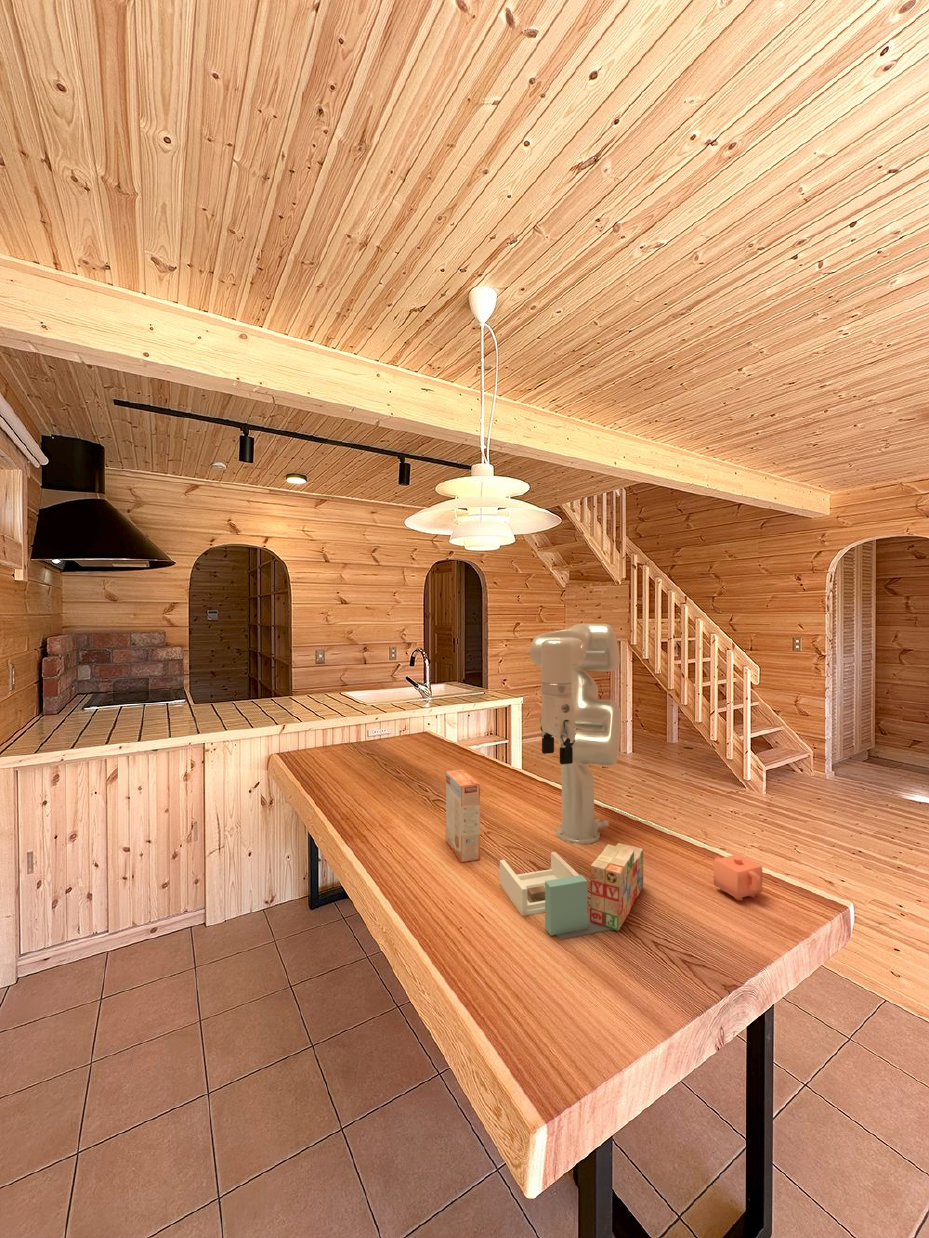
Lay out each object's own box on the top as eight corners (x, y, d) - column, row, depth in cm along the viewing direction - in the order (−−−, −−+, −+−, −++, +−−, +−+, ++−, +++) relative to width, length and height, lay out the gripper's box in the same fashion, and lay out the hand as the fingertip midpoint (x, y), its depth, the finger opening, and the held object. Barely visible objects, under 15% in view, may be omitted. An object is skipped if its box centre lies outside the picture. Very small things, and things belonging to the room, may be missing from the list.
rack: (555, 875, 131) (555, 851, 131) (583, 905, 118) (583, 878, 118) (499, 884, 127) (499, 860, 127) (522, 916, 113) (522, 889, 113)
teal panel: (581, 874, 111) (545, 881, 108) (587, 880, 108) (550, 887, 106) (581, 921, 111) (545, 928, 108) (587, 928, 108) (550, 935, 106)
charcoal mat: (600, 913, 114) (600, 911, 114) (616, 929, 109) (616, 927, 109) (547, 924, 111) (547, 922, 111) (560, 941, 105) (560, 939, 105)
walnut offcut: (543, 896, 120) (543, 885, 120) (548, 902, 117) (547, 891, 117) (527, 899, 118) (527, 888, 118) (531, 905, 116) (531, 893, 116)
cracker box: (481, 860, 139) (481, 782, 139) (460, 864, 137) (459, 785, 137) (465, 838, 152) (464, 768, 152) (445, 841, 151) (444, 770, 150)
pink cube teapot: (727, 876, 130) (727, 843, 130) (770, 901, 119) (770, 865, 119) (703, 882, 127) (703, 848, 127) (745, 908, 116) (745, 871, 116)
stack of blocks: (617, 879, 129) (618, 830, 128) (643, 886, 125) (644, 836, 125) (589, 921, 110) (590, 864, 110) (618, 931, 107) (620, 872, 107)
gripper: (588, 693, 121) (588, 766, 121) (554, 684, 138) (554, 748, 138) (558, 695, 119) (559, 769, 119) (528, 685, 136) (528, 750, 136)
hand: (556, 758), depth 129 cm, fingers open, 9 cm apart
